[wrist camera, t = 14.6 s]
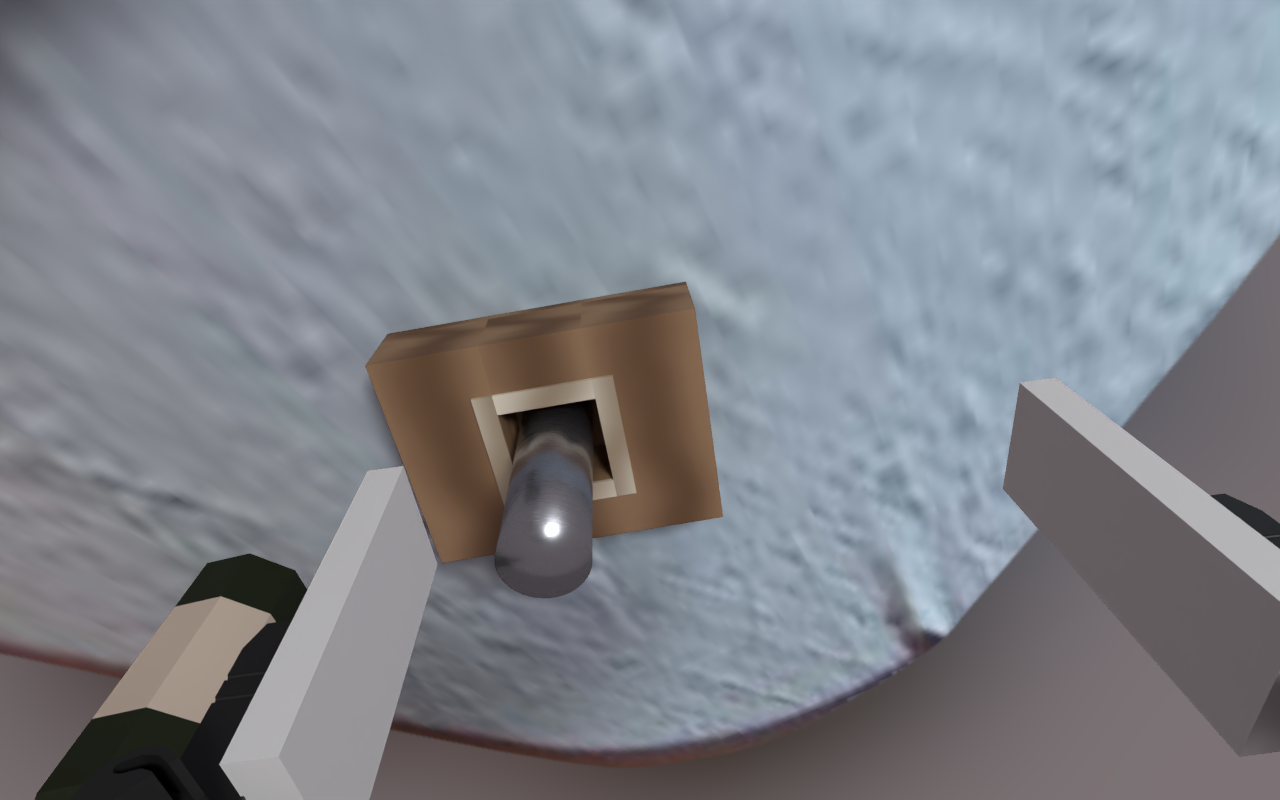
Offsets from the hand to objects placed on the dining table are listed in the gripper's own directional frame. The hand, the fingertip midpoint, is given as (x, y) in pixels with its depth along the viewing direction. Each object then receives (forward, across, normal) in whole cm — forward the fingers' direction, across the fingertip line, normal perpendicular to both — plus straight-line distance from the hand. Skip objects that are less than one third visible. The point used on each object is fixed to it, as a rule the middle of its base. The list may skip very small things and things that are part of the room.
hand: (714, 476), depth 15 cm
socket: (+27, -7, -12) cm, 30 cm away
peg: (+26, -7, -12) cm, 30 cm away
